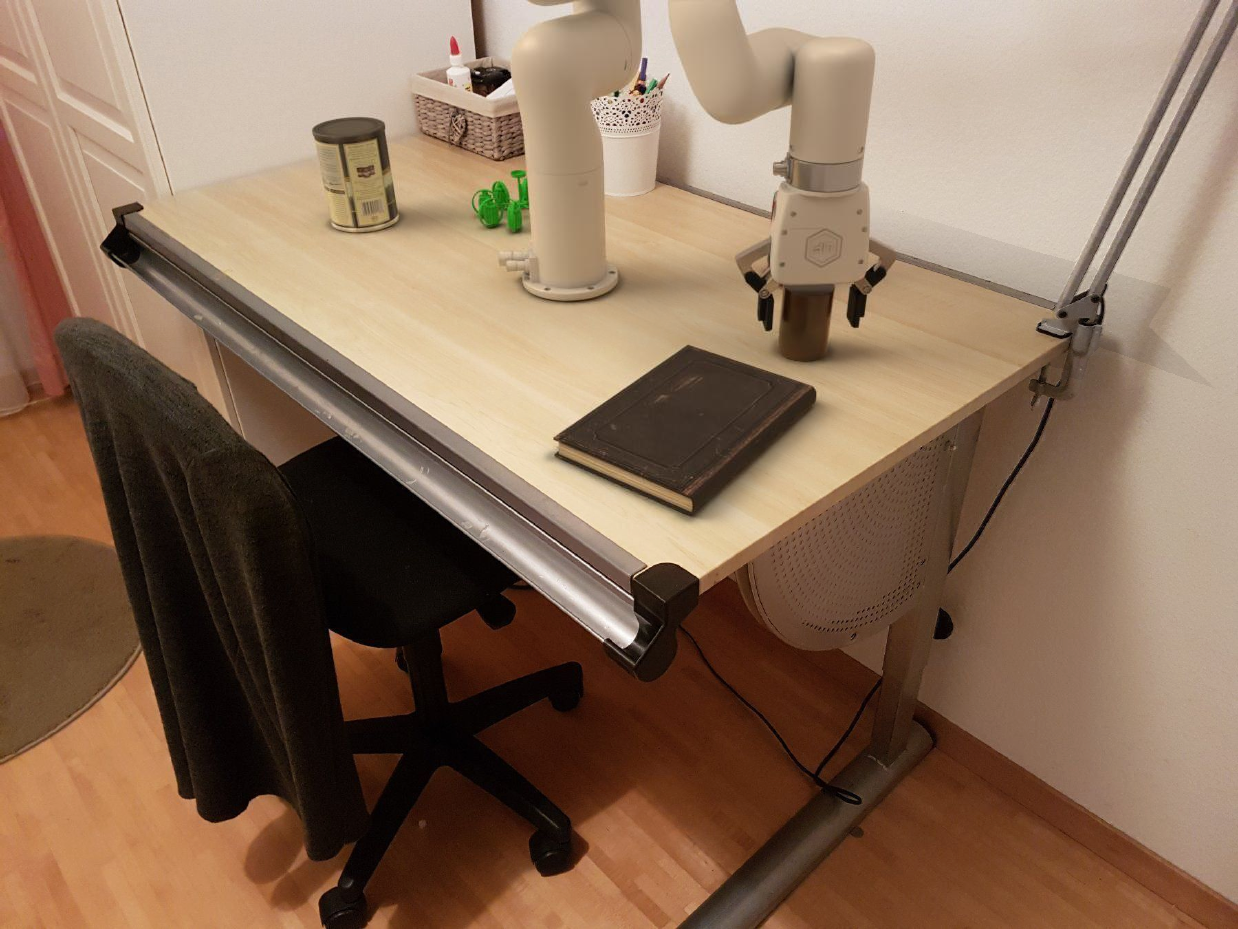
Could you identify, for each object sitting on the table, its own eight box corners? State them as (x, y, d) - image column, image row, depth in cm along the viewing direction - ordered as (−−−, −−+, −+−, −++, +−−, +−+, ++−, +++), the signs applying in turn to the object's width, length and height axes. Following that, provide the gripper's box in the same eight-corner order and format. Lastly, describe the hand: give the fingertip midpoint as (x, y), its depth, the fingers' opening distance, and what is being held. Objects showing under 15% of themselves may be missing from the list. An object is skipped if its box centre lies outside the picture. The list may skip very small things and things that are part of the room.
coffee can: (365, 204, 146) (349, 112, 138) (413, 216, 142) (399, 122, 134) (315, 224, 139) (296, 129, 131) (364, 237, 135) (347, 140, 127)
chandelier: (576, 201, 146) (574, 157, 142) (563, 236, 134) (561, 190, 130) (483, 199, 148) (479, 156, 144) (462, 234, 135) (457, 188, 131)
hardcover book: (554, 456, 88) (553, 436, 87) (687, 362, 103) (687, 344, 102) (693, 518, 80) (694, 497, 79) (815, 406, 95) (817, 387, 94)
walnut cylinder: (781, 362, 103) (788, 296, 98) (773, 338, 108) (779, 275, 103) (831, 361, 103) (840, 295, 98) (821, 337, 108) (829, 274, 103)
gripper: (744, 186, 90) (736, 342, 100) (919, 180, 90) (895, 336, 100) (734, 163, 97) (728, 312, 106) (899, 157, 97) (877, 307, 106)
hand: (809, 324), depth 103 cm, fingers open, 9 cm apart
